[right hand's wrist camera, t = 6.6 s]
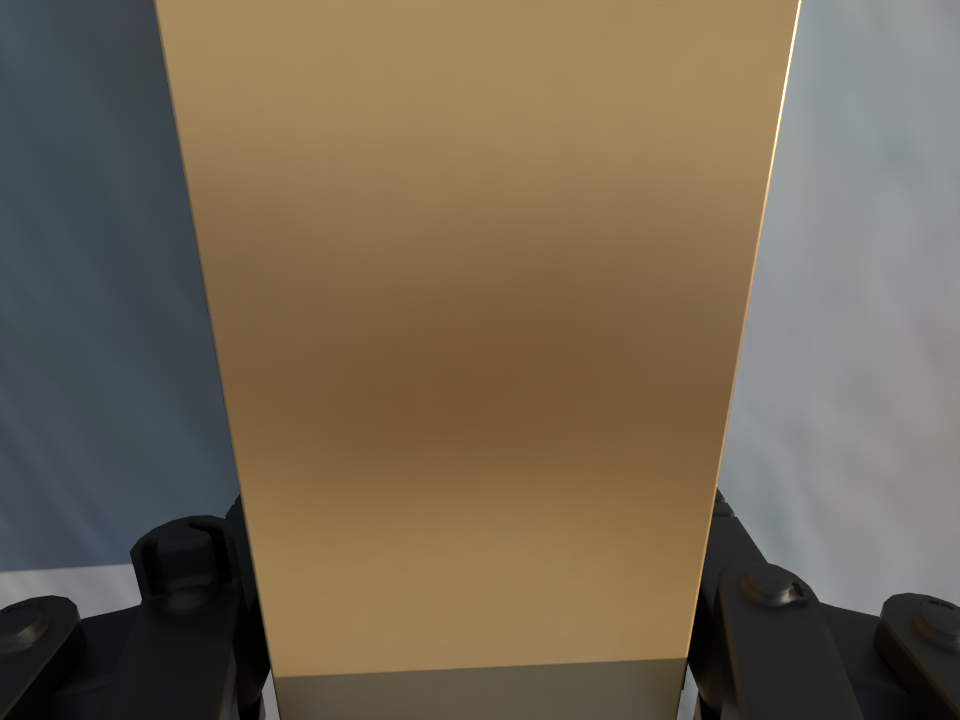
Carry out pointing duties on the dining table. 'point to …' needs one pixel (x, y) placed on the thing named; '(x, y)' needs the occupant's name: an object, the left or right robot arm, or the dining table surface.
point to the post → (477, 330)
